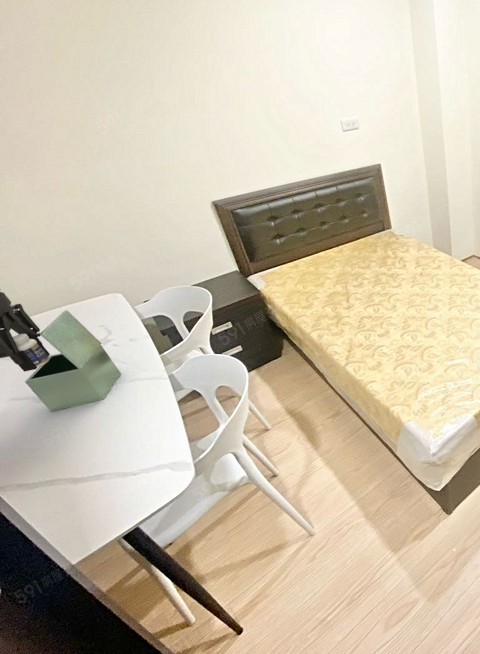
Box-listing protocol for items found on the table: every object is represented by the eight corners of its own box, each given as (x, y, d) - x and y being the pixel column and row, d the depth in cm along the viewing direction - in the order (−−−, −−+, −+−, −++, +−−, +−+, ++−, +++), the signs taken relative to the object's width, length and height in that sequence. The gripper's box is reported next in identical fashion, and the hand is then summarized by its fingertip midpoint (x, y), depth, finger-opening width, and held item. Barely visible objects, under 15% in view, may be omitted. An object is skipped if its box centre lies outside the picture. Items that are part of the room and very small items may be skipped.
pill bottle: (48, 364, 117) (27, 338, 112) (23, 372, 114) (0, 346, 110) (52, 354, 121) (31, 329, 116) (27, 362, 118) (5, 337, 113)
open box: (50, 411, 123) (24, 381, 117) (72, 384, 134) (49, 355, 127) (103, 399, 127) (81, 369, 121) (121, 373, 137) (101, 344, 131)
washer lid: (39, 334, 112) (42, 333, 113) (64, 310, 123) (67, 309, 123) (78, 369, 120) (81, 368, 120) (99, 344, 131) (101, 343, 131)
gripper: (-27, 313, 99) (33, 380, 111) (23, 278, 114) (70, 341, 126) (-66, 319, 97) (-1, 387, 109) (-10, 284, 112) (41, 347, 124)
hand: (37, 362), depth 118 cm, fingers closed on pill bottle, 5 cm apart
